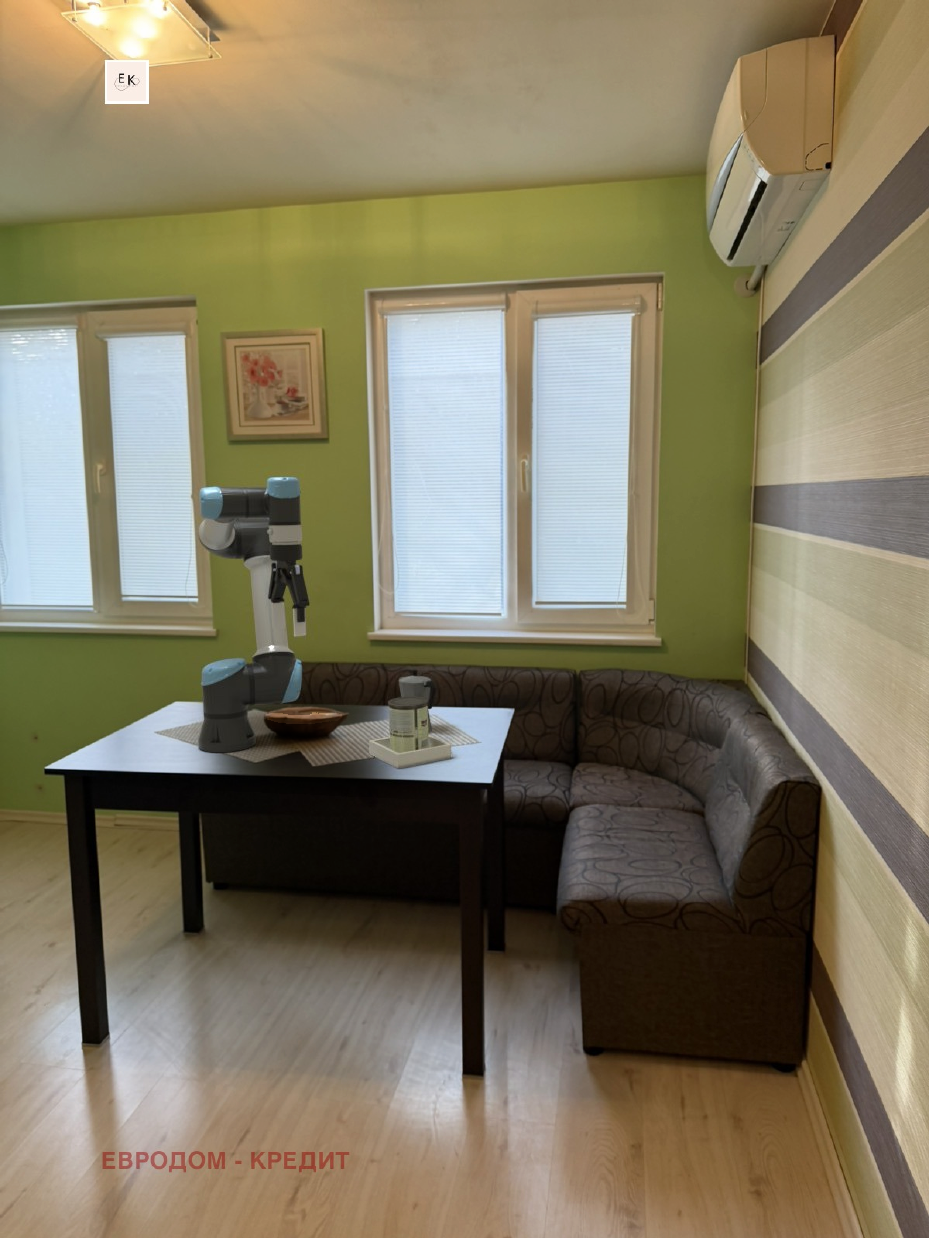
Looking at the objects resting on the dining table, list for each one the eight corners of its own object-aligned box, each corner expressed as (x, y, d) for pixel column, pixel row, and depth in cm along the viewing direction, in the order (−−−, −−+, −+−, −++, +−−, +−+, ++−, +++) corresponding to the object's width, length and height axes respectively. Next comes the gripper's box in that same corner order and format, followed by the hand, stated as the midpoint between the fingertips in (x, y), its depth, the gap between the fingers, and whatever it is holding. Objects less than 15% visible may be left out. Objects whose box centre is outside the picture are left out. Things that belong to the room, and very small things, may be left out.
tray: (369, 753, 223) (369, 740, 222) (420, 744, 231) (420, 731, 231) (397, 768, 210) (397, 754, 209) (451, 758, 218) (451, 744, 218)
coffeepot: (388, 729, 247) (387, 668, 245) (413, 723, 253) (412, 664, 251) (423, 739, 236) (422, 676, 234) (448, 733, 242) (447, 671, 240)
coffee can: (393, 747, 226) (392, 696, 224) (431, 748, 225) (430, 696, 223) (386, 759, 216) (384, 705, 214) (426, 760, 215) (425, 705, 213)
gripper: (252, 542, 209) (256, 627, 211) (290, 545, 188) (294, 640, 191) (281, 541, 213) (285, 625, 216) (321, 544, 192) (325, 637, 195)
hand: (289, 632), depth 203 cm, fingers open, 13 cm apart
